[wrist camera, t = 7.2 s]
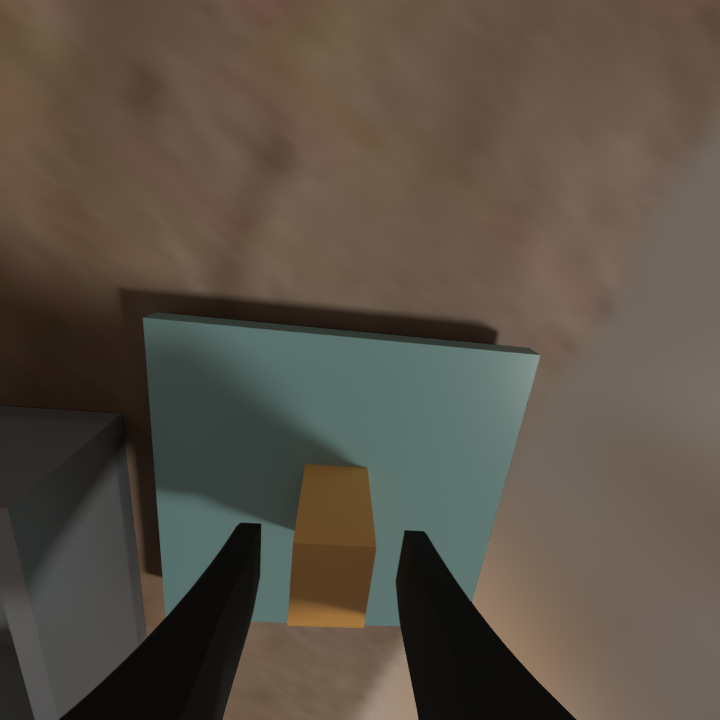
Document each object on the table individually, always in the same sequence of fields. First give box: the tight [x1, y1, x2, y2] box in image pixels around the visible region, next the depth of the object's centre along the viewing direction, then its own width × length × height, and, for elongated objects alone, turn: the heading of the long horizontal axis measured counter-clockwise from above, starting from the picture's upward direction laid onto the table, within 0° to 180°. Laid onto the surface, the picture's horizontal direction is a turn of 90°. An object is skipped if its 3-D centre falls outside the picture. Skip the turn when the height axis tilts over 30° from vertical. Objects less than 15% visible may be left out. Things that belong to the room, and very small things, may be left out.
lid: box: [143, 312, 540, 628], centre depth 13 cm, size 12×12×5 cm
